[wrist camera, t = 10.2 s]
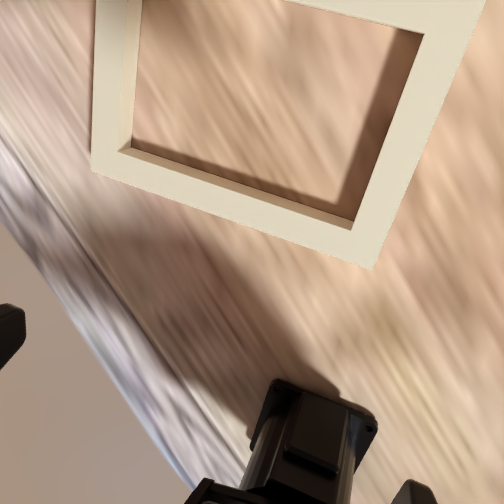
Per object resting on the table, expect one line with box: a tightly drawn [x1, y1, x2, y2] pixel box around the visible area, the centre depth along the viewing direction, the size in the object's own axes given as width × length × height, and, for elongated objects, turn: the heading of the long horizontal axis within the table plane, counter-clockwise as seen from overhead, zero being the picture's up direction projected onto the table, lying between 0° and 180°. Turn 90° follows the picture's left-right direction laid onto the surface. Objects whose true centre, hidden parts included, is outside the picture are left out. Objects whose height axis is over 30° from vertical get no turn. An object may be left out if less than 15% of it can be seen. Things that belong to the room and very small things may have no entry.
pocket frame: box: [90, 0, 486, 270], centre depth 19 cm, size 11×15×1 cm
